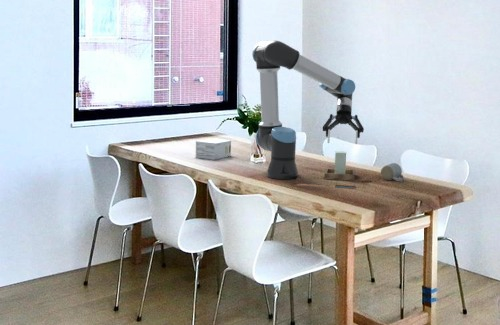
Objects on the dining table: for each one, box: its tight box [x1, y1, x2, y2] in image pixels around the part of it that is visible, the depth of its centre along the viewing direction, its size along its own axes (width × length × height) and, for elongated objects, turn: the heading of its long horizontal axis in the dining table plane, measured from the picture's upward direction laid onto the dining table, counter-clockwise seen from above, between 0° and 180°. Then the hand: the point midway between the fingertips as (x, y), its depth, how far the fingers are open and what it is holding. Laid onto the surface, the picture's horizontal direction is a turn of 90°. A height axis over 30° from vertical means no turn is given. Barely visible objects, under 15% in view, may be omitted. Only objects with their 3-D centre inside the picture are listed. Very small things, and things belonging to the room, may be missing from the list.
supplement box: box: [195, 138, 232, 161], centre depth 382 cm, size 17×13×9 cm
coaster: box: [334, 184, 356, 190], centre depth 309 cm, size 9×9×1 cm
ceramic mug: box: [380, 162, 405, 183], centre depth 326 cm, size 11×8×8 cm
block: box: [334, 150, 347, 174], centre depth 325 cm, size 5×5×12 cm
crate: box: [323, 168, 356, 181], centre depth 326 cm, size 14×14×4 cm
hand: (342, 142), depth 334 cm, fingers open, 13 cm apart
